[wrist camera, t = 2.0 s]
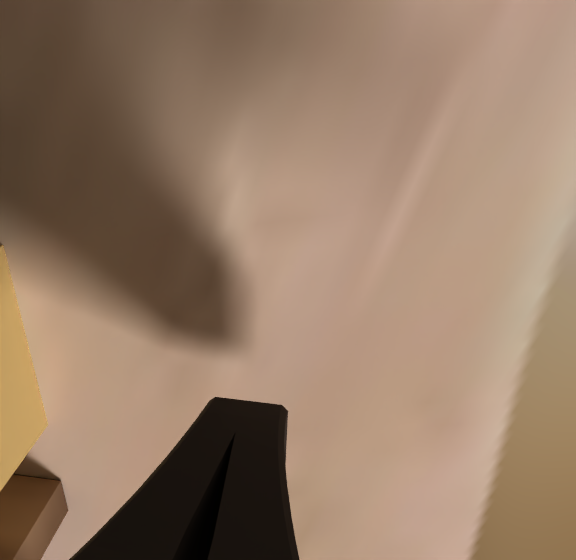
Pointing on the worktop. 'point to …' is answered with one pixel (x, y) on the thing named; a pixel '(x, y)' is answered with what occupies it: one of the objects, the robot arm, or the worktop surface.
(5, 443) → the ochre block
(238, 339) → the worktop surface
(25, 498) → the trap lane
